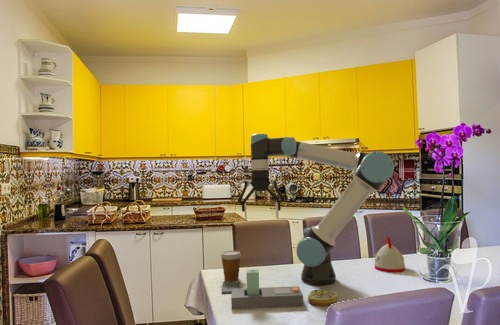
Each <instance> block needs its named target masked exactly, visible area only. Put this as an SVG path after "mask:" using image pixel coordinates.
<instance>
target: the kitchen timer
mask: <svg viewBox="0 0 500 325" xmlns="http://www.w3.org/2000/svg"><path fill="white" fill-rule="evenodd" d="M385 241H386V242H385V243H386V244H384V245H382V246H381V248H380V249H378V252H377V253H375V255H374V256H375V257H374V269H375V270H377V271H379V272H382V273H389V274H390V273H392V274H397V273H403V272H405V271H406V266H405V265H406V264H405V259H404V256H403V254H402V253H401V252H400V250H398V248H397V247H396V246H394V245H393V244H392V243H391V238H390V237H389V236H388V237H386V239H385Z"/></svg>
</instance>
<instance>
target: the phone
mask: <svg viewBox="0 0 500 325" xmlns="http://www.w3.org/2000/svg"><path fill="white" fill-rule="evenodd" d="M238 288H240V281H224V282H222V288H221V294H222V295H224V294H225V295H230V294H231V295H232V289H238Z"/></svg>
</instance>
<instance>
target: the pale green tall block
mask: <svg viewBox="0 0 500 325" xmlns="http://www.w3.org/2000/svg"><path fill="white" fill-rule="evenodd" d="M259 271H260V270H259V268H254V269H253V268H251V269H250V268H249V269H246V271H245V272H246V288H247V296H250V295H259V288H260V276H259V275H260V272H259Z"/></svg>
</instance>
